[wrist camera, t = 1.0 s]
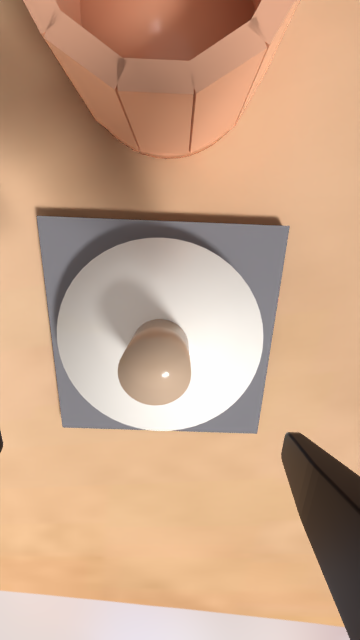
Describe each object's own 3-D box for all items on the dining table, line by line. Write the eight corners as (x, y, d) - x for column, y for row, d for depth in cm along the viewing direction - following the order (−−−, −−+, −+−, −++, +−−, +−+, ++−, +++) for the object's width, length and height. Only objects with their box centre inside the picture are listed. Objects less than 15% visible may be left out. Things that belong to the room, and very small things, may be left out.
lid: (270, 243, 14) (313, 238, 10) (245, 421, 18) (267, 479, 13) (55, 234, 14) (-5, 225, 9) (74, 416, 18) (38, 473, 13)
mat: (283, 227, 15) (289, 226, 14) (253, 426, 19) (256, 433, 18) (44, 217, 14) (36, 215, 14) (67, 420, 19) (62, 427, 18)
